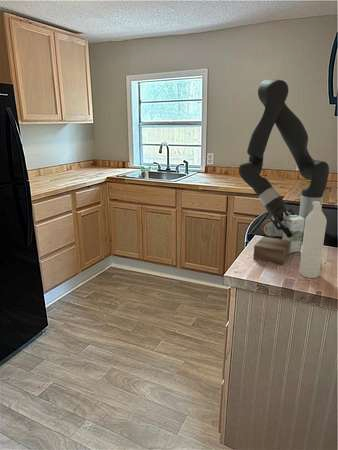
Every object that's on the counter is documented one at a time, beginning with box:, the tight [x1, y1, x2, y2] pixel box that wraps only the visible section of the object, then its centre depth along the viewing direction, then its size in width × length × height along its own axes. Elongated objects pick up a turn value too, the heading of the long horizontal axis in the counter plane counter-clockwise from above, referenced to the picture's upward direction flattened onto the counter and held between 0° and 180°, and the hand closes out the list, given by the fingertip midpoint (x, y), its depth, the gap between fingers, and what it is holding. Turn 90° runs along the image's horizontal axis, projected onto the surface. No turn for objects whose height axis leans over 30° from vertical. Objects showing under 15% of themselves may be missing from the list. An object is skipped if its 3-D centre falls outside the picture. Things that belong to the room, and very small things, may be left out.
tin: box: [260, 218, 282, 238], centre depth 147 cm, size 15×3×8 cm, turn 84°
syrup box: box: [280, 214, 305, 254], centre depth 131 cm, size 6×6×14 cm
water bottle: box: [298, 201, 328, 279], centre depth 111 cm, size 9×6×25 cm
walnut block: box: [253, 236, 291, 266], centre depth 127 cm, size 11×11×6 cm
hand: (295, 234), depth 130 cm, fingers closed on syrup box, 7 cm apart
